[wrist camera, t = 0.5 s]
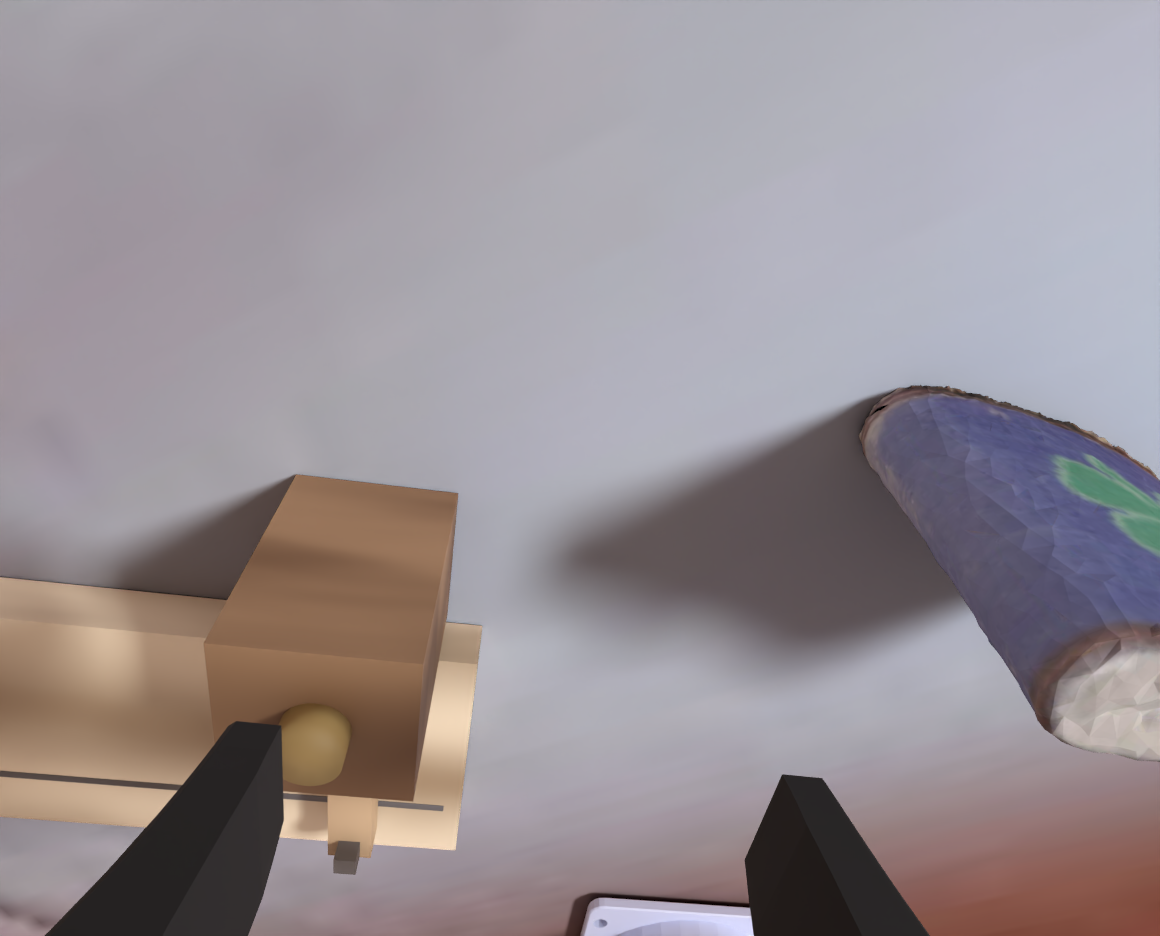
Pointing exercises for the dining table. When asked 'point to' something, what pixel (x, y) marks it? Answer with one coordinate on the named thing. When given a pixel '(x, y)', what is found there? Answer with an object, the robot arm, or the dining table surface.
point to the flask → (1039, 552)
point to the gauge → (340, 644)
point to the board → (170, 714)
